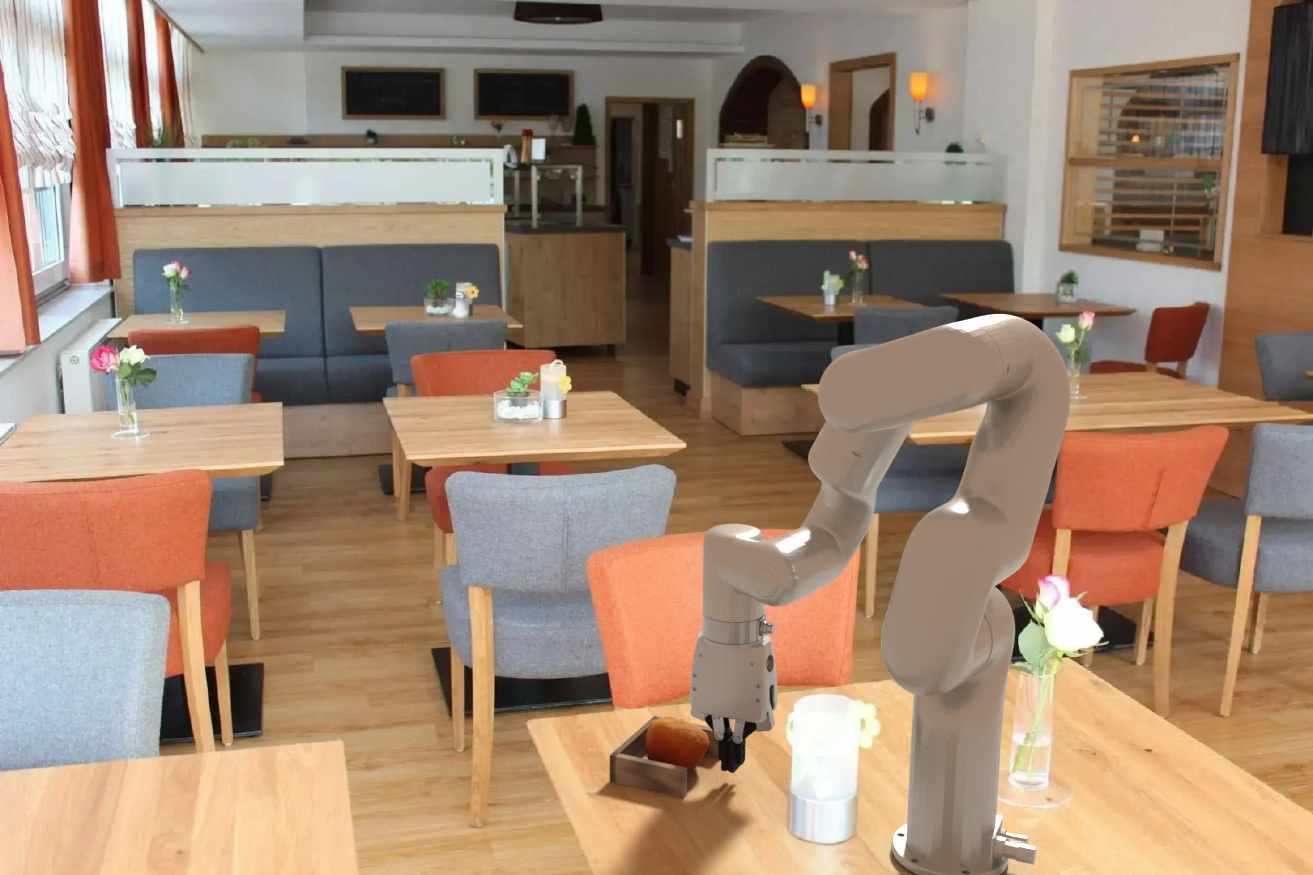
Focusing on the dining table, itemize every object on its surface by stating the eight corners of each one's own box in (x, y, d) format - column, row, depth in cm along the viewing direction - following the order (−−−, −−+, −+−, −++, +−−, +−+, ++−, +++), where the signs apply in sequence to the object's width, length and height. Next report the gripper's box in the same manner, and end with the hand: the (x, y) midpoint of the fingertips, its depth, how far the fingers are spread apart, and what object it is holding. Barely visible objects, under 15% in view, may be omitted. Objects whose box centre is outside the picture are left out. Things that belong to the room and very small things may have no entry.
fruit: (624, 769, 160) (641, 706, 162) (652, 778, 166) (668, 717, 168) (680, 785, 156) (697, 720, 158) (706, 793, 162) (723, 731, 164)
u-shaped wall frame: (723, 754, 167) (724, 729, 166) (683, 798, 155) (683, 771, 155) (654, 740, 171) (654, 715, 170) (609, 781, 160) (609, 755, 159)
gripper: (802, 626, 156) (798, 766, 160) (688, 609, 162) (688, 744, 166) (781, 646, 149) (778, 792, 153) (664, 627, 155) (664, 768, 159)
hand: (731, 767), depth 159 cm, fingers closed
